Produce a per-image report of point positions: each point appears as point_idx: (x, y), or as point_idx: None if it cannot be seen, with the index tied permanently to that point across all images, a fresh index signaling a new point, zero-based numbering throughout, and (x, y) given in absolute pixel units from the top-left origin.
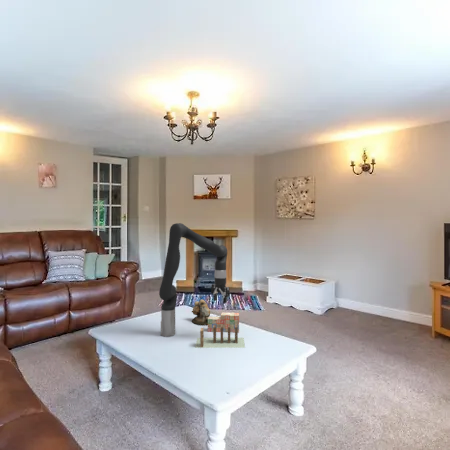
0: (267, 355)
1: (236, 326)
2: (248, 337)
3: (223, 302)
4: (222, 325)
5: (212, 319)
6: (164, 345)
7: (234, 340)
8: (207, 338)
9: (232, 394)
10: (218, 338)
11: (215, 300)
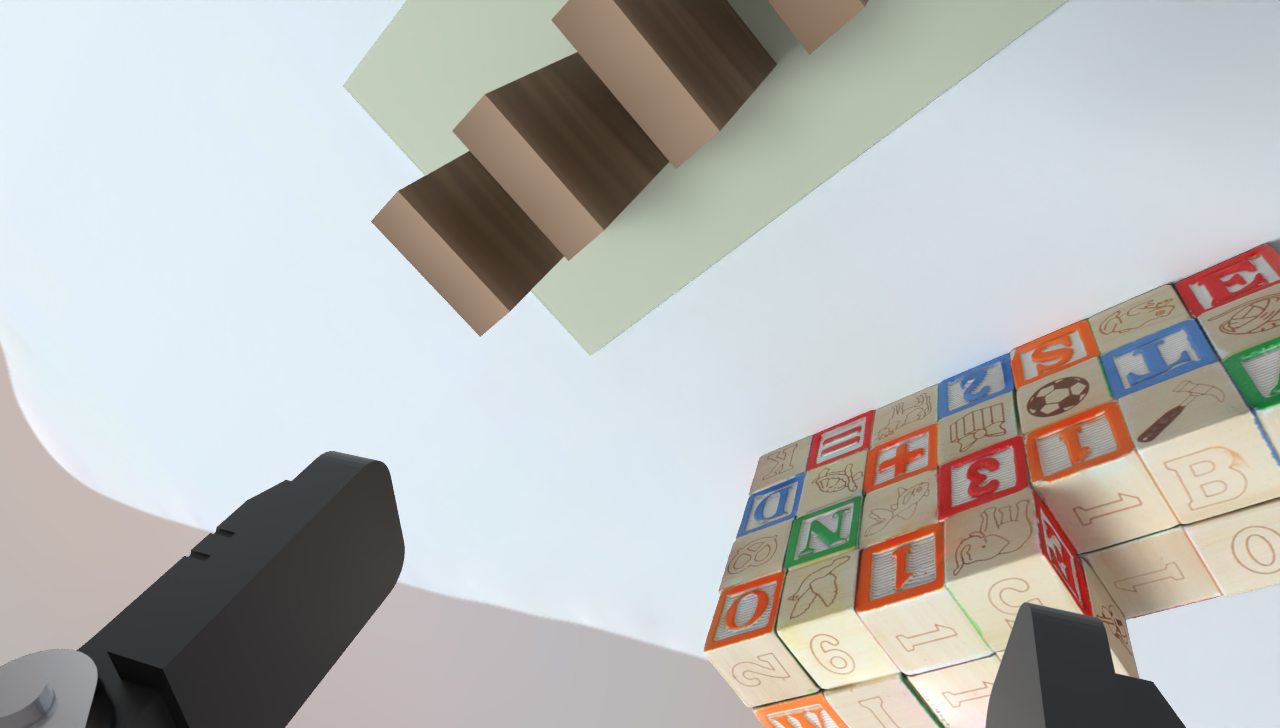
0: (74, 85)
1: (415, 244)
2: (568, 403)
3: (350, 471)
4: (649, 114)
5: (1238, 411)
6: None
7: None
8: None
9: None
10: (862, 104)
11: (1010, 643)
